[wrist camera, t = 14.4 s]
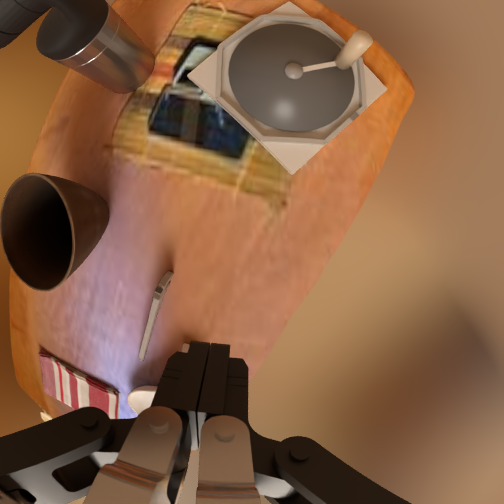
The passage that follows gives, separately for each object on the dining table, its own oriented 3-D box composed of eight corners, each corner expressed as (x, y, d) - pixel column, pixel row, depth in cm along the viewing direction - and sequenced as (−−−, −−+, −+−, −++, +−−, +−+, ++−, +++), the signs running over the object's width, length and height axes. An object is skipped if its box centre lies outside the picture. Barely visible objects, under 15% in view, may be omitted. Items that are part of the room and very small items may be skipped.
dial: (254, 148, 37) (254, 138, 27) (212, 44, 32) (202, 11, 23) (369, 116, 35) (401, 102, 26) (324, 19, 31) (340, -13, 21)
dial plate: (189, 78, 35) (184, 72, 33) (288, 5, 31) (290, -4, 29) (291, 174, 39) (294, 174, 37) (383, 91, 35) (391, 87, 33)
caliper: (168, 269, 43) (156, 282, 37) (174, 271, 43) (163, 286, 37) (139, 357, 48) (128, 376, 42) (144, 359, 48) (133, 379, 42)
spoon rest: (171, 421, 53) (164, 443, 46) (126, 396, 51) (115, 417, 44) (222, 361, 48) (219, 386, 41) (166, 329, 46) (155, 351, 39)
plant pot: (124, 162, 39) (64, 158, 23) (136, 253, 42) (86, 290, 27) (56, 181, 39) (-6, 188, 24) (69, 260, 43) (13, 292, 27)
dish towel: (41, 346, 49) (35, 352, 46) (121, 389, 51) (117, 396, 48) (48, 389, 53) (43, 394, 50) (119, 426, 55) (116, 433, 53)
